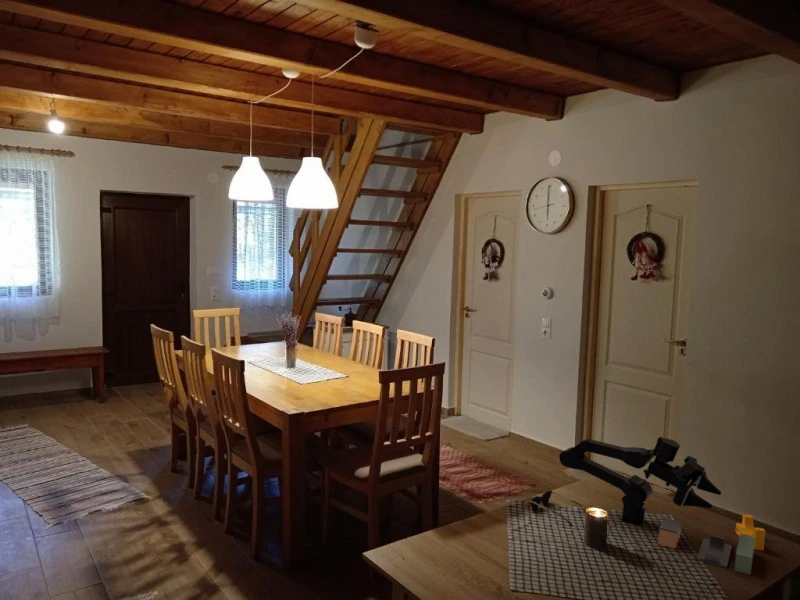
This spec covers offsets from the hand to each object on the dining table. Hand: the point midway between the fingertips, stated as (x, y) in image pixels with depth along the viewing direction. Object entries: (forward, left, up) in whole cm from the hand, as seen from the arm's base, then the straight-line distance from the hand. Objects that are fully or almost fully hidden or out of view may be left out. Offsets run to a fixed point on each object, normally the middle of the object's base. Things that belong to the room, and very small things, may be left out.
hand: (716, 500), depth 193 cm
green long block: (+9, -6, -15) cm, 18 cm away
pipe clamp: (+10, +11, -15) cm, 21 cm away
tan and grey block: (-12, -6, -15) cm, 20 cm away
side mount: (+1, -6, -15) cm, 16 cm away
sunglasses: (-47, -8, -15) cm, 50 cm away
